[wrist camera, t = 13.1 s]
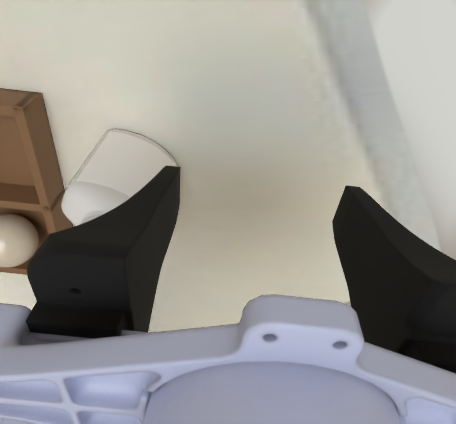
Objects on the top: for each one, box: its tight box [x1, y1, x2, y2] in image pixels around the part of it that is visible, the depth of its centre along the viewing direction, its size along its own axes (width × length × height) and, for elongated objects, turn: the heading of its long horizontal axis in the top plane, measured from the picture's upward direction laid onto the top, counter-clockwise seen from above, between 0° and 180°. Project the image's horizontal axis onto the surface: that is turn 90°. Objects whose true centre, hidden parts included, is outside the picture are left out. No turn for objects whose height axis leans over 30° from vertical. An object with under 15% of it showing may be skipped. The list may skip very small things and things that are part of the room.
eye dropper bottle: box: [61, 129, 177, 226], centre depth 22 cm, size 4×6×12 cm
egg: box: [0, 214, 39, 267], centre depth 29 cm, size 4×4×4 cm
